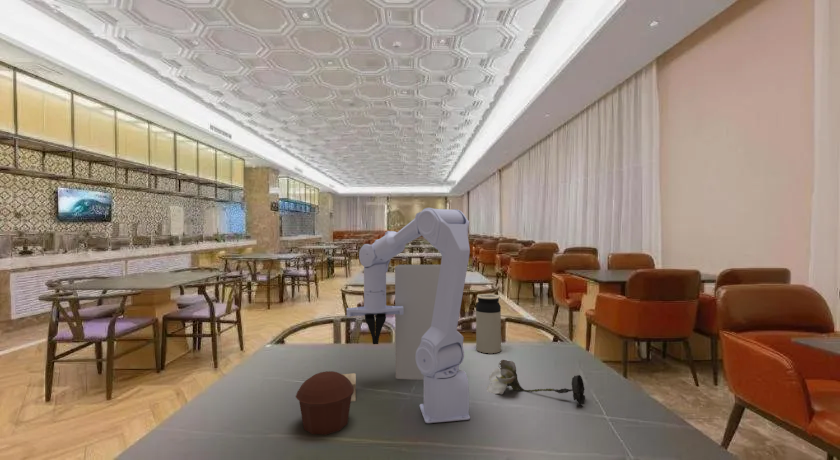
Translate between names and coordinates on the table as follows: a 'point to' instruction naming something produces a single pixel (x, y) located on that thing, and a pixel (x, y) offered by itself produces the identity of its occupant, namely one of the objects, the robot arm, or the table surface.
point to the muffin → (325, 402)
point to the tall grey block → (413, 314)
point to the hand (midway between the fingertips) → (375, 343)
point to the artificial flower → (509, 378)
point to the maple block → (353, 380)
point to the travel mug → (488, 324)
